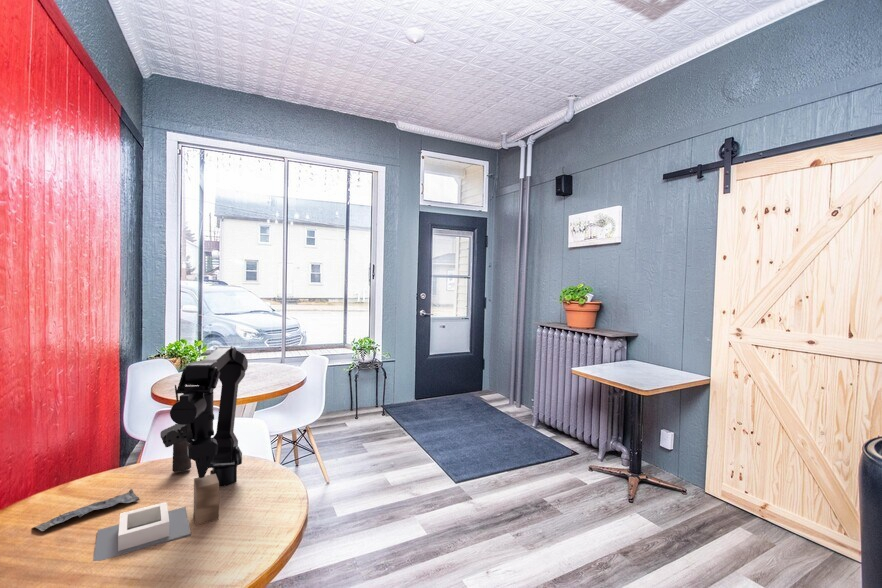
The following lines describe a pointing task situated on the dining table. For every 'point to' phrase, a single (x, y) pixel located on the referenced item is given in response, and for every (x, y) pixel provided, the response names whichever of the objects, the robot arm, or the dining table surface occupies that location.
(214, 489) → the wooden block
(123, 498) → the grey flat stone bar
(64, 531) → the dining table surface
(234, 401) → the robot arm
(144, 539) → the square frame on plate
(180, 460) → the butter churn
